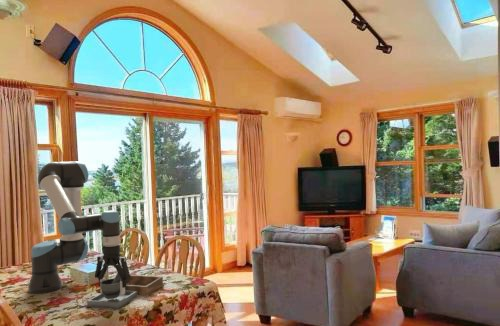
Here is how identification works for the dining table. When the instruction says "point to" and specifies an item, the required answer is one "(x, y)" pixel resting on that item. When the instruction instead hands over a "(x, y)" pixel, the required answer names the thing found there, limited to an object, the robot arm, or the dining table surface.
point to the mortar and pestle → (111, 287)
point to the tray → (112, 300)
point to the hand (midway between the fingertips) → (112, 293)
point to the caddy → (150, 281)
